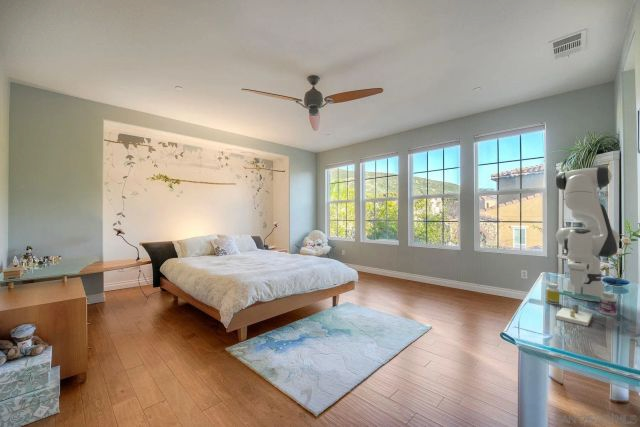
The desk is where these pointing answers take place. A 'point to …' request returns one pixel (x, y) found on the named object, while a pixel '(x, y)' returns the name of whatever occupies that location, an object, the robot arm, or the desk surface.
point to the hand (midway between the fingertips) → (579, 291)
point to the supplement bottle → (552, 294)
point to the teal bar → (580, 295)
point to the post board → (574, 316)
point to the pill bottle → (608, 304)
